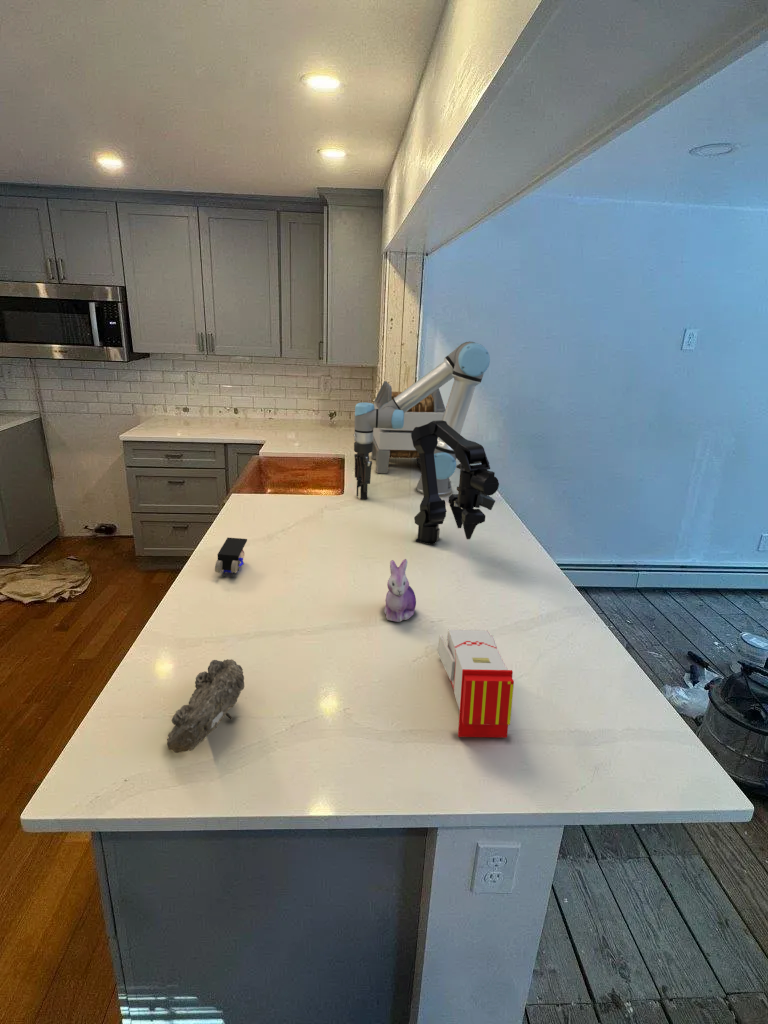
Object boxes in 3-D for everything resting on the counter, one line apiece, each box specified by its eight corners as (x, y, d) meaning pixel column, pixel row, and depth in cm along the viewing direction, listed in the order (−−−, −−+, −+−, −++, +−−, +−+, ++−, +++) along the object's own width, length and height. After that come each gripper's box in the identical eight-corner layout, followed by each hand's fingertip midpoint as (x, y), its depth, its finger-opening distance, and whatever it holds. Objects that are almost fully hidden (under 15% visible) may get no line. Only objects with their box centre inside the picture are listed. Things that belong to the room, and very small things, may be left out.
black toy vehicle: (238, 584, 162) (249, 557, 175) (236, 562, 158) (247, 536, 172) (215, 584, 161) (227, 556, 175) (212, 561, 158) (225, 535, 171)
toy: (488, 613, 130) (523, 677, 101) (484, 667, 133) (517, 744, 104) (435, 612, 130) (455, 676, 101) (432, 666, 133) (451, 743, 103)
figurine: (392, 627, 141) (395, 572, 136) (374, 608, 149) (376, 556, 144) (425, 619, 145) (429, 566, 140) (405, 601, 154) (408, 550, 149)
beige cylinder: (356, 497, 236) (356, 486, 235) (364, 496, 238) (364, 485, 236) (360, 499, 233) (360, 489, 232) (368, 498, 235) (368, 488, 233)
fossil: (192, 660, 117) (244, 628, 112) (224, 691, 120) (276, 661, 115) (142, 746, 98) (202, 712, 93) (182, 779, 101) (242, 748, 96)
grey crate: (370, 456, 302) (373, 378, 288) (430, 457, 305) (436, 380, 292) (376, 473, 270) (380, 387, 256) (443, 474, 274) (450, 389, 260)
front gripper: (504, 495, 164) (498, 544, 169) (483, 476, 181) (478, 522, 187) (468, 495, 162) (463, 545, 167) (450, 477, 179) (446, 523, 185)
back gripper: (347, 437, 233) (346, 492, 241) (362, 447, 219) (360, 504, 227) (364, 437, 236) (362, 490, 244) (380, 446, 222) (377, 502, 230)
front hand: (463, 533), depth 177 cm, fingers open, 9 cm apart
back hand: (361, 497), depth 235 cm, fingers closed on beige cylinder, 3 cm apart
